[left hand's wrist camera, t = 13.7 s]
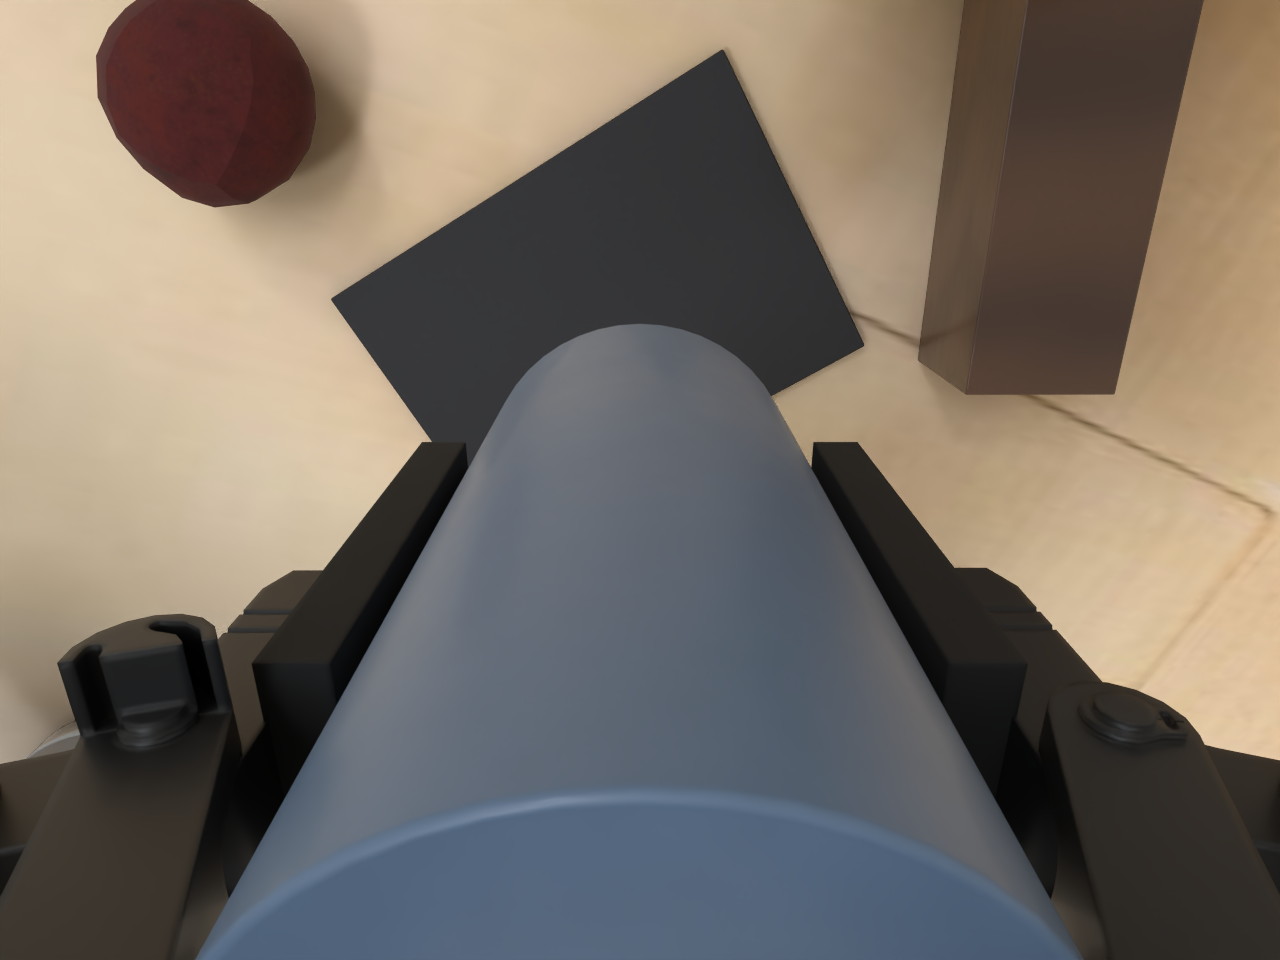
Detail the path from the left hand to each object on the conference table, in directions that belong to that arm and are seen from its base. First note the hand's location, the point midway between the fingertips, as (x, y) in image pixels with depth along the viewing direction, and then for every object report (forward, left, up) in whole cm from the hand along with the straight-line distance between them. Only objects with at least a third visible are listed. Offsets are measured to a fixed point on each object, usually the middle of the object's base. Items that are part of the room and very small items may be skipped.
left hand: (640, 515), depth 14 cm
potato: (-10, +15, -24) cm, 30 cm away
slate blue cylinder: (0, 0, -2) cm, 2 cm away
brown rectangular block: (+18, -1, -24) cm, 30 cm away
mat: (-2, 0, -24) cm, 24 cm away
